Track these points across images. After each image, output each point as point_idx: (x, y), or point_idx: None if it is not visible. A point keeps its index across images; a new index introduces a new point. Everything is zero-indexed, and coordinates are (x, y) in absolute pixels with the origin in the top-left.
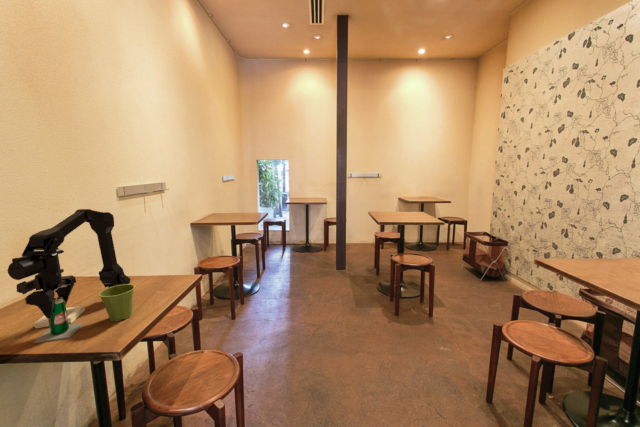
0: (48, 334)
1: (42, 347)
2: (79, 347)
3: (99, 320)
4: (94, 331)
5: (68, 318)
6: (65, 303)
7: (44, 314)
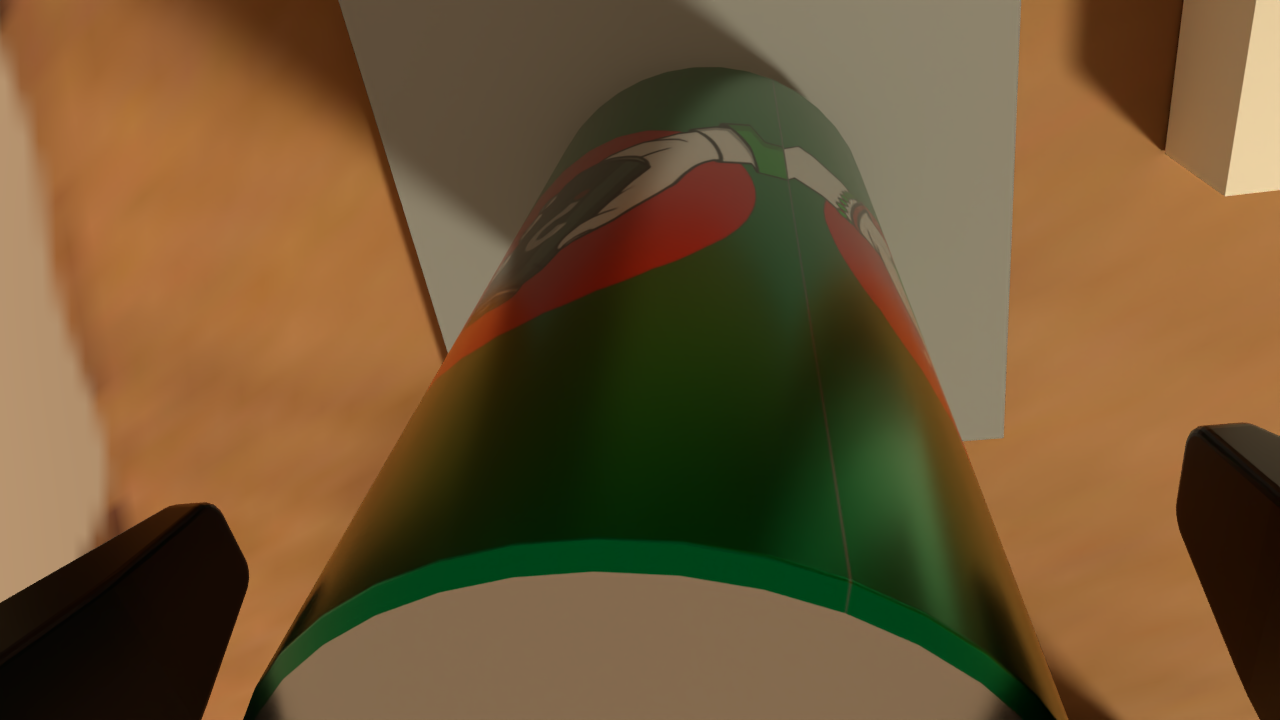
0: (624, 31)
1: (220, 217)
2: (255, 675)
3: (1042, 602)
4: None
5: (1231, 151)
6: (1227, 628)
7: (10, 610)
